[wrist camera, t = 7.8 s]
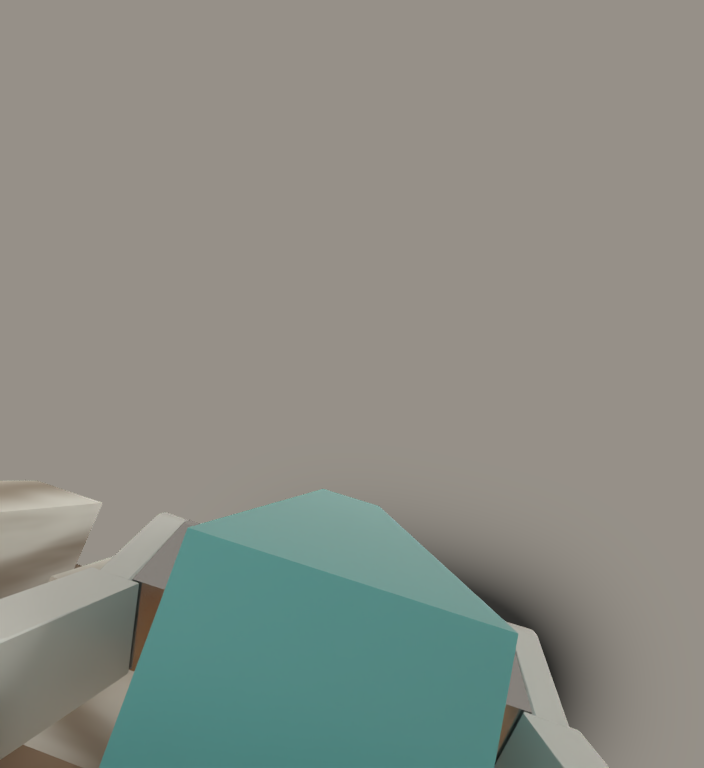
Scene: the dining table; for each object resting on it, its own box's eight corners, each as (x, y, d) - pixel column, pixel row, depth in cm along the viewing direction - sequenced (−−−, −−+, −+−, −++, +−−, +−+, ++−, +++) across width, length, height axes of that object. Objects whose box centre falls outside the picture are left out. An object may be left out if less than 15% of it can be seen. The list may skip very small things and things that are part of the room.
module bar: (366, 550, 27) (378, 505, 28) (457, 966, 4) (518, 633, 5) (310, 532, 28) (323, 488, 28) (78, 821, 4) (188, 527, 5)
